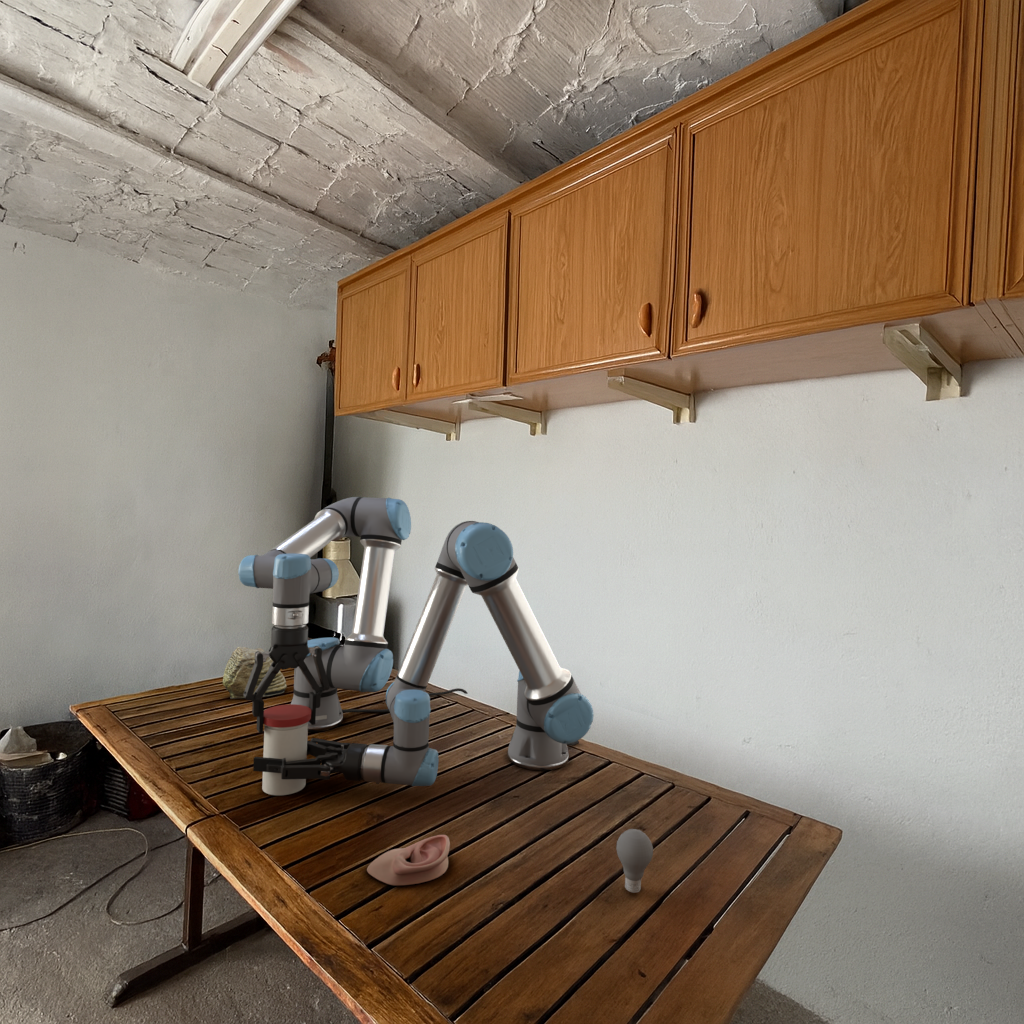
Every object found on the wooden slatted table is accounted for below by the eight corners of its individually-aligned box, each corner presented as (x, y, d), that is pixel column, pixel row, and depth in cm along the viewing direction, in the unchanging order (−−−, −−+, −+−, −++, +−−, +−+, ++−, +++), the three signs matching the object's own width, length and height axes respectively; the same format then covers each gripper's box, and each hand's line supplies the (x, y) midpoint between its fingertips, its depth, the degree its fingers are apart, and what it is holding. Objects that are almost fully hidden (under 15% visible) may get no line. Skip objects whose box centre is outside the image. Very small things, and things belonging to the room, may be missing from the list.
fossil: (218, 695, 195) (220, 647, 195) (278, 685, 208) (279, 640, 207) (228, 703, 189) (230, 653, 188) (289, 692, 201) (290, 645, 201)
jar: (278, 774, 143) (281, 707, 143) (313, 780, 141) (316, 713, 141) (253, 791, 135) (255, 720, 135) (289, 798, 133) (292, 726, 132)
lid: (284, 708, 144) (284, 701, 144) (320, 716, 141) (321, 708, 141) (251, 722, 135) (251, 715, 135) (289, 730, 131) (289, 723, 131)
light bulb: (610, 879, 108) (613, 822, 108) (644, 879, 109) (647, 822, 109) (619, 902, 102) (622, 840, 102) (655, 901, 103) (658, 840, 103)
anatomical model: (359, 856, 105) (387, 822, 116) (358, 879, 105) (386, 843, 116) (435, 869, 102) (456, 833, 114) (434, 893, 103) (455, 855, 114)
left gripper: (236, 632, 128) (232, 741, 128) (347, 624, 140) (343, 723, 141) (230, 625, 134) (226, 729, 135) (336, 618, 147) (332, 713, 147)
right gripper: (348, 803, 126) (239, 794, 127) (379, 759, 147) (286, 752, 149) (349, 766, 126) (240, 757, 127) (380, 727, 147) (287, 720, 149)
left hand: (286, 726), depth 138 cm, fingers open, 10 cm apart
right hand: (265, 754), depth 138 cm, fingers closed on jar, 9 cm apart
